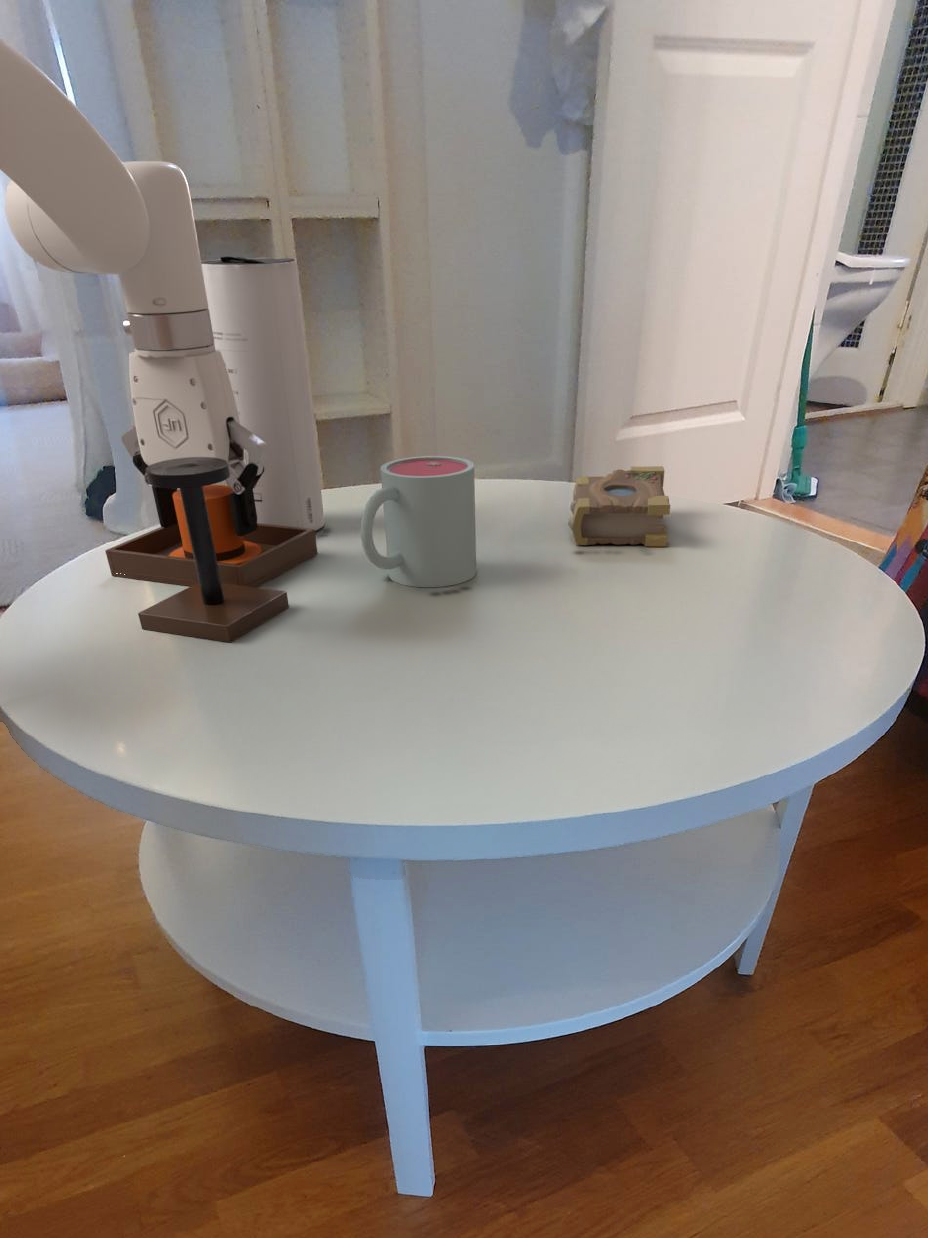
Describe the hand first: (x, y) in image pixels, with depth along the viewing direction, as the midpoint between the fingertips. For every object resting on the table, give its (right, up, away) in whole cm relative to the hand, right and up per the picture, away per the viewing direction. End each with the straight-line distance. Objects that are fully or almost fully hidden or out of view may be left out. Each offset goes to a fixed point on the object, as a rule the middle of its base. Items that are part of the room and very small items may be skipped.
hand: (209, 528), depth 100 cm
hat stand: (+4, -14, -10) cm, 18 cm away
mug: (+22, -7, -3) cm, 24 cm away
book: (+45, +4, +9) cm, 46 cm away
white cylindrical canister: (+5, +6, +13) cm, 16 cm away
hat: (0, -2, +2) cm, 3 cm away
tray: (0, -3, +2) cm, 4 cm away
